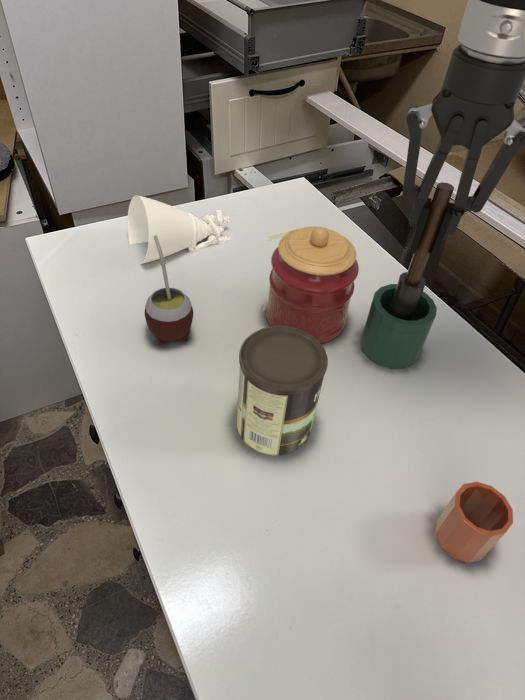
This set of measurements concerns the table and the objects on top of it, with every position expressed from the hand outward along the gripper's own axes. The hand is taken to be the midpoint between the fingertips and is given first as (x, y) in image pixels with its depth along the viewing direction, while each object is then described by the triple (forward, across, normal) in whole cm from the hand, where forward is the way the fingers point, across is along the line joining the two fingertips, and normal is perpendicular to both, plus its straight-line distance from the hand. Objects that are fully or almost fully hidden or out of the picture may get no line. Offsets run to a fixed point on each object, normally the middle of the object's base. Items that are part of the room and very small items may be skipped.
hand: (423, 249), depth 68 cm
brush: (+11, 0, 0) cm, 11 cm away
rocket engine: (+20, -39, +12) cm, 46 cm away
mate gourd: (+20, -33, -9) cm, 39 cm away
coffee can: (+20, -13, -20) cm, 31 cm away
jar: (+19, 0, 0) cm, 19 cm away
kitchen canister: (+19, -14, +2) cm, 24 cm away
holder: (+19, +12, -28) cm, 36 cm away
